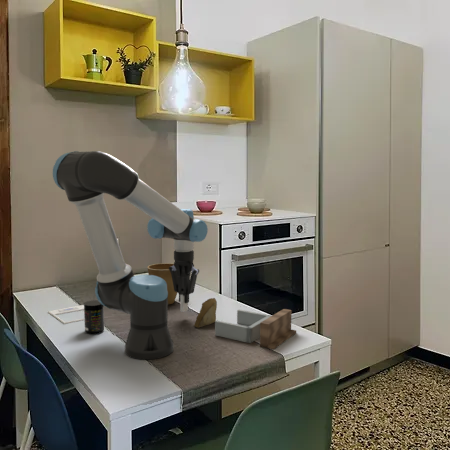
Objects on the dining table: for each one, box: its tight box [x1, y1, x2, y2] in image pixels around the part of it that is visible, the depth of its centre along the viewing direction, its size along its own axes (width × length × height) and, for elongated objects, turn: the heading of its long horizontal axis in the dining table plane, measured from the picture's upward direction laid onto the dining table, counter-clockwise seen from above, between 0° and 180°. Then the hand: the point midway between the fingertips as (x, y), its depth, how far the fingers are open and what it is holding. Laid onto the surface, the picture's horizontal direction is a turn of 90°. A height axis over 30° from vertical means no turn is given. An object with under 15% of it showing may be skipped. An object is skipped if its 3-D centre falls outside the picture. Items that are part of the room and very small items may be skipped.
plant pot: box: [147, 262, 178, 305], centre depth 203 cm, size 15×15×16 cm
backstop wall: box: [259, 308, 297, 350], centre depth 160 cm, size 18×5×8 cm, turn 148°
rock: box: [193, 297, 218, 329], centre depth 176 cm, size 11×9×10 cm
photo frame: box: [47, 304, 84, 325], centre depth 186 cm, size 15×1×18 cm
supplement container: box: [83, 299, 105, 335], centre depth 166 cm, size 7×7×10 cm
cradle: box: [214, 309, 272, 344], centre depth 167 cm, size 16×14×5 cm
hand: (184, 310), depth 181 cm, fingers closed
